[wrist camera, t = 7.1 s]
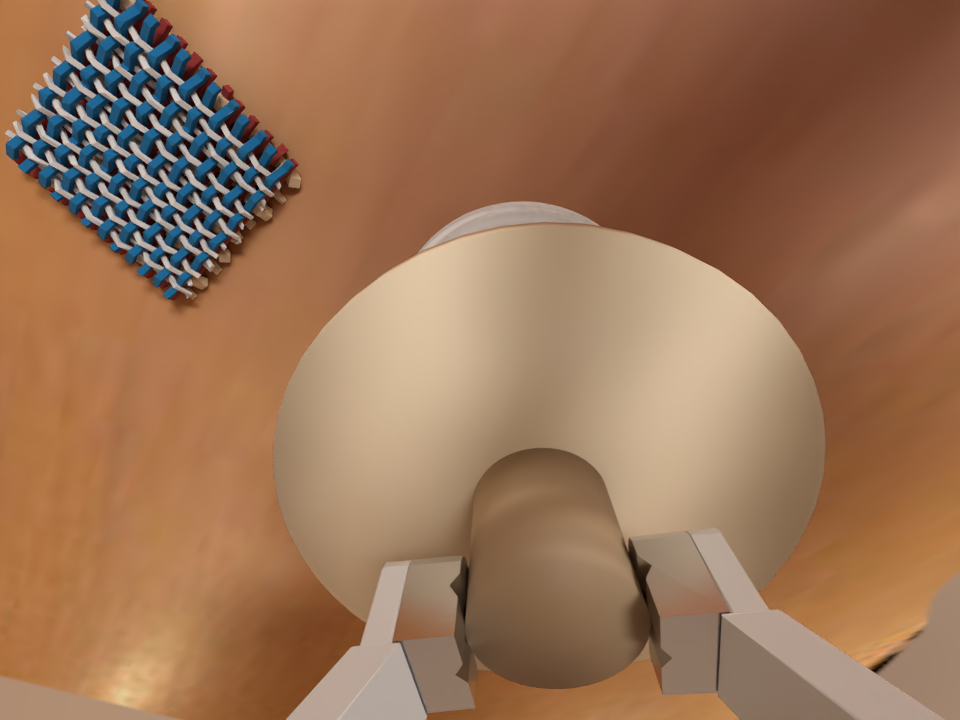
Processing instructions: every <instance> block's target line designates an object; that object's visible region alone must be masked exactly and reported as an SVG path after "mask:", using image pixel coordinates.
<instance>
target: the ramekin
mask: <svg viewBox="0 0 960 720" xmlns="http://www.w3.org/2000/svg"><path fill="white" fill-rule="evenodd" d="M538 222H558V223H582V224H591V225H596V226H599V225H598V224H597V223H595V222H594V221H592V220H590V219H588V218H587V217H585V216H583V215H581V214H578V213H576V212H574V211H571V210H569V209H566V208H563V207H559V206H555V205H551V204H546V203H539V202H527V201H519V202H505V203H499V204H494V205H490V206H486V207H482V208H479V209H477V210H474V211H471V212H469V213H466V214H464V215H462V216H460V217H458V218H457V219H455V220H453V221H452V222H450V223H449V224H447V225H446V226H444V227H443V228H442V229H441V230H439V231H438V232H437V233H436V234H435V235H434V236H433V237H431V238H430V239H429V240H428V241H427V243H426V244H425V245H424V246H423V247H422V248H421V249H420V251H419V252H421V251H423V250H425V249H427V248H430V247H433V246H435V245H438V244H441V243H443V242H446V241H448V240H451V239H454V238H456V237H459V236H462V235H465V234H470V233H474V232H478V231H483V230H487V229H491V228H495V227H500V226H506V225H517V224H528V223H538ZM419 252H418V253H419ZM418 253H417V254H418Z"/></svg>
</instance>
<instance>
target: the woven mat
mask: <svg viewBox="0 0 960 720" xmlns="http://www.w3.org/2000/svg"><path fill="white" fill-rule="evenodd" d="M98 2H99V4H100V5H98V6H94V5H93V4H92V3H91V2H89V1H88V0H87V1H86V2H85V4H84V6H85V7H87V8H88V9H89V10H90V20H89V18H88V17H87V15H84V16H83V17H81V19H82V21H83V23H84V25H83V26H82V27H81V28H82V29H83V30H84V31H85V32H83V33H82V34H80V35H79V36H77V37H76V36H75V35H73V34H72V33H71V32H69V31H67V33H66V34H65V37H67V38H68V39H69V40H71V41H70V46H71V54H70V52H69V49H68V48H67V47H65V46H64V45H63V53H64V56H65V58H66V60H65V61H64V62H61V61H60V60H59V59H57V58H56V57H55V56H53V58H52V59H51V60H52V61H53V62H54V63H56V64H57V65H56V66H55V67H54V68H55V69H54V70H53V80H52V78H51V76H50V75H49V74H48V73H45V74H44V75H43V76H44V79H45V81H46V83H47V85H48V86H47V87H45V88H43V87H42V86H40V85H38V84H37V83H35V84H34V85H33V87H34V88H35V89H37V90H39V91H38V93H39V100H38V98H37V97H36V96H35V95H33V94H32V95H31V100H32V102H33V104H34V106H35V108H36V109H34V110H33V111H32V112H30V113H29V114H27V113H25V112H23V111H21V110H19V109H18V110H17V111H16V113H17V114H19V115H20V116H22V117H23V118H21V123H22V127H23V129H22V127H21V124H20V123H19V122H17V121H15V122H13V125H14V128H15V130H16V132H17V135H16V134H14V133H13V132H12V131H10V130H7V132H6V133H5V134H6V135H8V136H10V137H11V138H10V139H9V141H8V142H7V143H6V154H7V155H8V156H9V157H10V158H11V159H12V160H14V161H15V162H16V163H17V164H18V165H19V166H18V167H19V168H20V169H21V170H22V171H23V172H24V173H27V174H29V173H30V174H31V175H32V176H33V177H34V178H35V179H39V184H41V185H42V186H43V187H44V188H45V189H46V188H47V189H49V190H50V191H51V192H52V194H50V195H51V196H52V197H53V198H54V199H55V200H57V201H58V202H59V201H60V202H62V203H63V204H64V205H69V210H70V211H71V212H72V213H73V214H74V215H78V216H79V217H81V218H82V220H81V222H82V223H83V224H84V225H85V226H86V227H87V228H88V227H90V228H91V229H92V230H98V234H97V235H98V236H99V237H100V238H102V239H103V240H104V241H106V242H107V243H109V242H112V241H113V240H114V241H115V243H113V244H111V245H110V246H109V247H110V248H111V249H112V250H113V251H114V252H115V253H117V252H119V253H120V254H121V255H122V254H125V253H126V252H127V251H128V252H127V255H126V259H125V260H126V261H128V262H129V263H130V264H131V265H132V264H133V263H135V262H137V263H138V264H139V265H140V266H141V265H142V266H141V267H140V268H139V269H138V270H137V271H136V272H137V273H139V274H140V275H141V276H145V277H146V278H151V277H152V276H153V275H154V274H155V272H157V273H158V274H156V275H155V276H154V279H153V281H152V284H153V285H155V286H156V287H157V288H158V287H161V288H162V289H163V288H165V287H167V286H168V284H169V283H171V285H172V286H171V287H170V288H169V289H168V290H167V291H166V292H165V293H164V294H163V296H165V297H166V298H167V299H171V300H172V301H173V300H175V299H176V298H177V297H178V296H179V295H180V294H181V293H184V294H185V296H186V298H189V297H190V298H191V299H193V300H194V299H195V298H196V297H197V295H196V294H195V293H194V292H193V291H192V290H191V289H190V288H189V286H194V287H196V288H199V289H201V290H202V289H204V288H206V287H207V286H208V278H206V277H203V276H201V275H202V274H203V273H204V271H205V268H206V269H208V270H209V271H210V272H211V271H212V272H214V273H215V274H216V275H218V274H219V273H220V272H221V271H222V268H221V267H220V266H219V265H218V264H217V263H216V262H215V261H214V258H217V257H218V260H219V262H230V256H231V251H230V250H229V249H228V248H227V247H226V245H227V244H228V243H229V242H230V241H231V242H233V243H236V244H239V243H241V240H242V239H243V238H244V237H243V236H242V235H241V233H240V230H241V229H242V230H243V228H244V225H245V226H246V227H247V228H248V229H249V230H251V229H252V228H253V227H254V226H255V224H256V222H255V221H254V220H253V218H254V216H255V215H256V216H258V217H260V218H261V219H263V220H265V221H268V220H269V219H270V218H272V212H273V209H272V208H270V207H268V206H267V205H266V204H267V203H268V201H269V198H270V197H274V198H275V199H276V200H277V201H278V202H280V203H281V204H282V205H283V204H284V203H285V202H286V201H287V200H286V199H285V197H284V196H283V195H282V194H281V192H280V191H279V190H278V189H280V187H281V184H282V183H283V182H284V181H285V180H286V182H287V184H288V187H293V188H300V184H301V178H300V176H299V173H298V172H296V170H295V168H296V167H297V166H298V165H299V164H298V163H297V162H296V161H295V160H294V159H290V160H289V159H288V160H286V159H285V158H284V157H283V155H284V154H285V153H286V152H287V151H288V149H287V148H286V147H285V146H284V145H283V144H281V145H280V146H279V147H278V148H277V149H276V148H275V147H274V146H273V145H272V144H271V143H270V141H271V140H272V139H273V138H274V137H273V136H272V135H271V133H270V132H269V131H267V130H265V131H264V132H263V131H262V130H261V131H259V130H258V129H257V128H256V126H257V125H258V124H259V121H258V120H257V119H256V117H255V116H252V115H250V116H249V118H247V117H246V116H245V114H244V113H243V112H242V111H243V110H244V109H245V106H244V105H243V104H242V103H241V102H240V101H239V100H236V101H235V100H234V99H233V100H231V99H232V96H233V92H234V90H233V89H232V88H231V87H230V86H229V85H225V86H223V88H222V90H221V89H220V88H219V86H218V85H217V84H216V83H215V82H214V80H215V79H216V77H217V75H216V74H215V73H214V72H213V71H212V70H211V69H208V68H207V69H205V68H201V67H200V65H201V63H202V62H203V61H204V60H203V59H202V58H201V57H200V56H199V55H198V54H197V53H195V52H194V53H193V54H192V55H191V56H190V55H189V54H188V53H187V52H186V50H185V48H186V47H187V45H188V43H187V42H186V41H185V40H184V39H183V38H182V37H180V36H178V35H177V37H176V36H175V35H174V34H170V33H169V32H170V31H171V29H172V27H173V26H172V25H171V24H170V23H169V22H168V21H167V20H166V19H164V18H161V20H160V21H158V20H157V19H156V18H155V17H154V16H153V15H154V13H155V12H156V11H157V9H156V8H155V7H154V6H153V5H152V4H151V3H150V2H149V1H147V0H145V2H144V1H143V0H98ZM95 58H96V59H95ZM171 67H172V68H171ZM221 91H222V92H221ZM203 95H204V96H203ZM202 96H203V99H202V101H200V99H201V98H202ZM52 105H53V106H54V107H52ZM135 118H136V119H135ZM159 119H160V120H159ZM158 120H159V122H158ZM232 123H235V124H234V126H233V128H232V130H231V132H230V131H229V130H228V128H229V127H230V126H231V125H232ZM202 129H204V130H205V131H204V132H201V130H202ZM247 138H249V139H250V140H249V141H247V142H246V140H247ZM245 142H246V143H245ZM190 143H191V146H190V148H189V151H188V150H187V147H188V146H189V144H190ZM216 143H217V145H216V148H215V149H214V145H215V144H216ZM164 146H165V147H166V149H165V147H164ZM260 152H262V153H263V154H262V156H261V157H260V159H259V160H258V161H257V159H256V157H257V155H258V154H259V153H260ZM205 158H206V159H207V160H206V161H205ZM231 160H232V162H230V161H231ZM204 161H205V162H204ZM229 162H230V163H229ZM273 165H274V166H275V167H276V168H277V169H276V170H275V171H273V172H272V173H270V172H269V170H270V169H271V167H272V166H273ZM146 168H147V169H146ZM218 171H219V172H220V174H219V176H218V178H217V180H216V178H215V175H216V174H217V173H218ZM243 171H245V173H244V176H243V178H242V176H241V175H240V174H241V173H242V172H243ZM188 180H189V182H188ZM231 184H232V185H233V186H234V188H233V189H232V190H231V191H229V190H228V188H229V187H230V185H231ZM256 184H257V185H258V187H259V190H258V191H256V187H255V185H256ZM85 185H86V187H85ZM201 191H203V192H202V194H200V192H201ZM176 192H178V193H177V196H176V197H175V196H174V194H175V193H176ZM243 199H244V201H245V203H246V204H245V205H244V207H243V206H242V204H241V201H242V200H243ZM220 202H221V203H222V204H221V203H220ZM191 203H193V204H194V205H193V206H191V207H190V208H189V209H188V206H189V205H190V204H191ZM214 204H215V206H216V208H217V209H216V208H215V207H214V206H213V205H214ZM162 208H163V209H162ZM138 209H139V210H138ZM90 211H91V212H90ZM137 211H138V213H137ZM85 216H86V218H85ZM203 217H204V220H205V221H204V223H202V222H201V220H202V218H203ZM229 218H230V219H229ZM153 219H154V220H155V221H156V223H154V224H153V225H152V226H151V225H150V223H151V222H152V221H153ZM228 220H229V221H228ZM227 221H228V223H226V222H227ZM128 222H129V223H128ZM175 222H177V224H178V225H177V224H176V223H175ZM142 233H143V239H142V237H141V234H142ZM165 233H166V239H165V238H164V237H163V236H164V235H165ZM215 233H217V234H218V235H215ZM118 236H119V237H118ZM207 244H208V245H207ZM156 246H157V247H158V248H155V247H156ZM201 246H202V247H201ZM177 249H180V250H179V251H178V250H177ZM192 256H194V257H195V259H194V261H193V263H191V262H190V261H189V260H190V259H191V257H192ZM168 258H170V262H169V260H168ZM178 275H179V276H178Z"/></svg>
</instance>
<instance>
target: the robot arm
mask: <svg viewBox="0 0 960 720" xmlns="http://www.w3.org/2000/svg"><path fill="white" fill-rule="evenodd" d="M628 552H629V555H630V558H631V561H632V564H633V567H634V570H635V573H636V576H637V579H638V582H639V585H640V587H641V590H642V593H643V596H644V599H645V602H646V605H647V608H648V613H649V616H650V621H651V628H650V631H649V638H648V639H649V654H650V657H651V660H652V663H653V666H654V670H655V673H656V676H657V679H658V682H659V685H660V688H661V691H662V694H663V695H677V694H702V693H718V697H719V698H720V699H721V700H722V701H723V702H724V703H725V704H726V705H727V706H728V707H729V708H730V709H731V710H732V711H733V712H734V713H735V714H736V715H737V717H738V718H739V719H740V720H944V719H943V718H941V717H940V716H938V715H937V714H935V713H934V712H932V711H931V710H929V709H928V708H926V707H925V706H923V705H922V704H920V703H919V702H917V701H916V700H914V699H913V698H911V697H910V696H908V695H907V694H905V693H904V692H902V691H901V690H899V689H898V688H896V687H895V686H893V685H892V684H890V683H889V682H887V681H886V680H884V679H883V678H881V677H880V676H878V675H877V674H875V673H874V672H872V671H871V670H869V669H868V668H866V667H865V666H863V665H862V664H860V663H859V662H857V661H856V660H854V659H853V658H851V657H850V656H848V655H847V654H845V653H844V652H842V651H841V650H839V649H838V648H836V647H835V646H833V645H832V644H830V643H829V642H827V641H826V640H824V639H823V638H821V637H820V636H818V635H817V634H815V633H814V632H812V631H811V630H809V629H808V628H806V627H805V626H803V625H802V624H800V623H799V622H797V621H796V620H794V619H793V618H791V617H790V616H788V615H787V614H785V613H784V612H782V611H781V610H779V609H777V610H769V609H768V607H767V606H766V604H765V602H764V601H763V599H762V598H761V596H760V594H759V593H758V591H757V590H756V588H755V586H754V585H753V583H752V582H751V580H750V578H749V577H748V575H747V574H746V572H745V570H744V569H743V567H742V565H741V564H740V562H739V561H738V559H737V557H736V556H735V554H734V553H733V551H732V549H731V548H730V546H729V545H728V543H727V541H726V540H725V538H724V537H723V535H722V533H721V532H720V531H719V530H718V529H716V528H715V527H713V528H705V529H696V530H687V531H678V532H669V533H661V534H652V535H644V536H635V537H629V539H628ZM468 574H469V567H468V564H467V560H466V557H465V556H463V555H462V556H450V557H437V558H424V559H412V560H405V561H393V562H387V563H386V564H385V565H384V567H383V568H382V570H381V573H380V577H379V580H378V584H377V587H376V591H375V594H374V598H373V601H372V605H371V608H370V611H369V615H368V618H367V622H366V625H365V629H364V632H363V636H362V639H361V642H360V646H353V647H351V648H350V649H349V650H348V651H347V652H346V653H345V654H344V655H343V657H342V658H341V659H340V660H339V661H338V662H337V663H336V664H335V665H334V667H333V668H332V669H331V670H330V671H329V672H328V673H327V674H326V675H325V677H324V678H323V679H322V680H321V681H320V682H319V683H318V684H317V685H316V687H315V688H314V689H313V690H312V691H311V692H310V693H309V694H308V695H307V697H306V698H305V699H304V700H303V701H302V702H301V703H300V704H299V705H298V707H297V708H296V709H295V710H294V711H293V712H292V713H291V714H290V715H289V717H288V718H287V719H286V720H426V718H427V715H426V713H434V712H444V711H454V710H463V709H473V708H475V707H476V685H477V664H476V660H475V657H474V653H473V652H472V650H471V647H470V646H469V644H468V642H467V639H466V634H465V616H466V602H467V588H468Z"/></svg>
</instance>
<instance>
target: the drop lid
mask: <svg viewBox="0 0 960 720" xmlns="http://www.w3.org/2000/svg"><path fill="white" fill-rule="evenodd" d="M825 451H826V438H825V427H824V416H823V410H822V407H821V403H820V399H819V396H818V392H817V388H816V384H815V381H814V379H813V377H812V375H811V373H810V370H809V368H808V366H807V364H806V362H805V360H804V358H803V356H802V354H801V351H800V350H799V348H798V347H797V345H796V344H795V343H794V341H793V340H792V338H791V337H790V336H789V334H788V333H787V331H786V330H785V329H784V327H783V326H782V324H781V323H780V321H779V320H778V319H777V318H776V317H775V316H774V315H773V314H772V313H771V312H770V311H769V310H768V309H767V308H766V307H765V306H764V305H763V304H762V303H761V302H760V301H759V300H758V299H757V298H756V297H755V296H754V295H753V294H752V293H750V292H749V291H747V290H746V289H745V288H743V287H742V286H740V285H739V284H738V283H736V282H735V281H733V280H732V279H731V278H729V277H728V276H726V275H725V274H724V273H722V272H721V271H720V270H718V269H716V268H714V267H712V266H710V265H708V264H706V263H704V262H702V261H700V260H698V259H696V258H694V257H692V256H690V255H688V254H686V253H684V252H682V251H680V250H678V249H676V248H673V247H671V246H669V245H667V244H664V243H661V242H658V241H655V240H652V239H649V238H646V237H643V236H640V235H637V234H634V233H631V232H628V231H624V230H618V229H613V228H607V227H602V226H596V225H591V224H582V223H558V222H538V223H528V224H517V225H506V226H500V227H495V228H491V229H487V230H483V231H478V232H474V233H470V234H465V235H462V236H459V237H456V238H454V239H451V240H448V241H446V242H443V243H441V244H438V245H435V246H433V247H430V248H427V249H425V250H423V251H421V252H419V253H418V254H416V255H414V256H412V257H410V258H408V259H407V260H405V261H403V262H401V263H399V264H398V265H396V266H394V267H392V268H390V269H389V270H388V271H386V272H385V273H384V274H382V275H381V276H380V277H378V278H377V279H376V280H374V281H373V282H372V283H370V284H369V285H368V286H366V287H365V288H364V289H362V290H361V291H360V292H359V293H358V294H357V295H356V296H355V297H353V298H352V299H351V300H350V301H349V302H348V303H347V304H346V305H345V306H344V307H343V308H342V309H341V310H340V311H339V312H338V313H337V314H336V315H335V316H334V317H333V318H332V319H331V320H330V321H329V322H328V323H327V324H326V325H325V326H324V327H323V328H322V330H321V331H320V333H319V334H318V335H317V337H316V338H315V340H314V341H313V342H312V344H311V345H310V346H309V348H308V349H307V351H306V352H305V353H304V355H303V356H302V358H301V360H300V362H299V364H298V366H297V368H296V370H295V372H294V374H293V376H292V378H291V380H290V381H289V383H288V385H287V388H286V391H285V394H284V397H283V401H282V404H281V407H280V410H279V413H278V416H277V423H276V430H275V437H274V444H273V472H274V481H275V487H276V492H277V498H278V503H279V506H280V509H281V512H282V515H283V518H284V521H285V524H286V527H287V530H288V532H289V534H290V536H291V538H292V540H293V542H294V544H295V546H296V548H297V550H298V552H299V553H300V555H301V557H302V558H303V559H304V561H305V562H306V564H307V565H308V567H309V568H310V570H311V571H312V572H313V574H314V575H315V577H316V578H317V579H318V580H319V581H320V582H321V583H322V584H323V586H324V587H325V588H326V589H327V590H328V591H329V592H330V593H331V595H332V596H333V597H334V598H336V599H337V600H338V601H339V602H340V603H341V604H342V605H343V606H345V607H346V608H347V609H348V610H349V611H350V612H351V613H353V614H354V615H355V616H356V617H358V618H359V619H361V620H362V621H364V622H365V623H366V622H367V618H368V615H369V611H370V608H371V605H372V601H373V598H374V594H375V591H376V587H377V584H378V580H379V577H380V573H381V570H382V568H383V567H384V565H385V564H386V563H387V562H393V561H405V560H412V559H424V558H437V557H450V556H462V555H463V556H465V557H466V560H467V564H468V567H469V574H468V588H467V602H466V616H465V634H466V639H467V642H468V644H469V646H470V647H471V650H472V652H473V653H474V657H475V660H476V664H477V670H483V671H490V672H494V673H496V674H498V675H499V676H501V677H503V678H505V679H508V680H510V681H513V682H516V683H519V684H522V685H527V686H531V687H537V688H547V689H566V688H576V687H581V686H586V685H590V684H593V683H597V682H600V681H602V680H605V679H607V678H609V677H611V676H613V675H615V674H617V673H619V672H620V671H622V670H624V669H625V668H626V667H628V666H629V665H630V664H631V663H634V662H637V661H641V660H644V659H648V658H651V657H650V654H649V639H648V638H649V631H650V628H651V621H650V616H649V613H648V608H647V605H646V602H645V599H644V596H643V593H642V590H641V587H640V585H639V582H638V579H637V576H636V573H635V570H634V567H633V564H632V561H631V558H630V555H629V552H628V539H629V537H635V536H644V535H652V534H661V533H669V532H678V531H687V530H696V529H705V528H713V527H715V528H716V529H718V530H719V531H720V532H721V533H722V535H723V537H724V538H725V540H726V541H727V543H728V545H729V546H730V548H731V549H732V551H733V553H734V554H735V556H736V557H737V559H738V561H739V562H740V564H741V565H742V567H743V569H744V570H745V572H746V574H747V575H748V577H749V578H750V580H751V582H752V583H753V585H754V586H755V588H756V590H757V591H758V593H759V592H760V591H761V590H762V589H763V588H764V587H765V586H766V585H767V584H768V583H769V582H770V581H771V580H772V578H773V577H774V576H775V575H776V573H777V572H778V571H779V570H780V568H781V567H782V566H783V565H784V563H785V562H786V561H787V560H788V558H789V557H790V555H791V554H792V552H793V550H794V549H795V547H796V545H797V544H798V542H799V540H800V539H801V537H802V535H803V534H804V532H805V530H806V527H807V525H808V523H809V520H810V518H811V515H812V513H813V511H814V508H815V506H816V503H817V499H818V495H819V491H820V487H821V483H822V479H823V475H824V463H825Z"/></svg>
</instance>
